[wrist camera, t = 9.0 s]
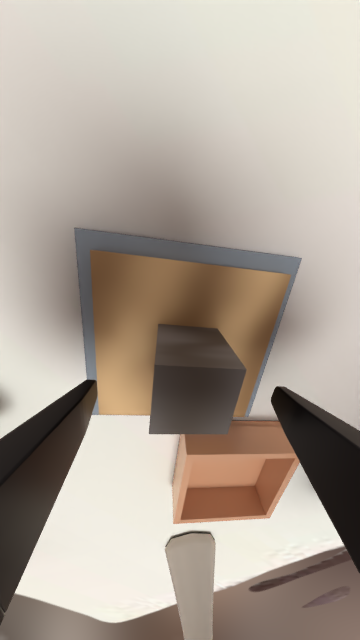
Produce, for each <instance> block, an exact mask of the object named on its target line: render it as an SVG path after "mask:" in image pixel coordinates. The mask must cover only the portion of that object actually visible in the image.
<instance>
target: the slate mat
mask: <svg viewBox="0 0 360 640" xmlns="http://www.w3.org/2000/svg"><path fill="white" fill-rule="evenodd" d="M74 229H75V241H76V253H77V264H78V276H79V288H80V300H81V312H82V324H83V336H84V348H85V360H86V372H87V380H88V379H91V380H96V381H97V370H96V352H95V334H94V316H93V298H92V279H91V261H90V250H98V251H106V252H114V253H122V254H130V255H138V256H146V257H154V258H163V259H171V260H179V261H187V262H195V263H203V264H211V265H219V266H227V267H235V268H243V269H251V270H259V271H267V272H275V273H283V274H289V275H291V278H290V281H289V284H288V287H287V290H286V293H285V296H284V299H283V302H282V305H281V308H280V311H279V314H278V317H277V320H276V323H275V326H274V329H273V332H272V335H271V338H270V341H269V344H268V347H267V350H266V353H265V356H264V359H263V362H262V365H261V368H260V371H259V374H258V377H257V380H256V383H255V386H254V389H253V392H252V395H251V399H250V402H249V405H248V408H247V411H246V414H245V417H248V416H249V413H250V410H251V407H252V404H253V402H254V399H255V396H256V393H257V390H258V387H259V384H260V381H261V378H262V375H263V372H264V369H265V366H266V363H267V360H268V357H269V354H270V351H271V348H272V345H273V342H274V339H275V336H276V333H277V330H278V327H279V324H280V321H281V318H282V315H283V312H284V309H285V307H286V304H287V301H288V298H289V295H290V292H291V289H292V286H293V283H294V280H295V277H296V274H297V271H298V268H299V265H300V262H301V259H302V258H298V257H290V256H283V255H275V254H268V253H260V252H252V251H245V250H237V249H230V248H222V247H215V246H207V245H200V244H192V243H185V242H177V241H170V240H162V239H155V238H147V237H140V236H132V235H125V234H117V233H110V232H102V231H95V230H87V229H79V228H74ZM97 391H98V388H97ZM92 415H99V407H98V396H97V400H96V403H95V406H94V409H93V412H92Z"/></svg>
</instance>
